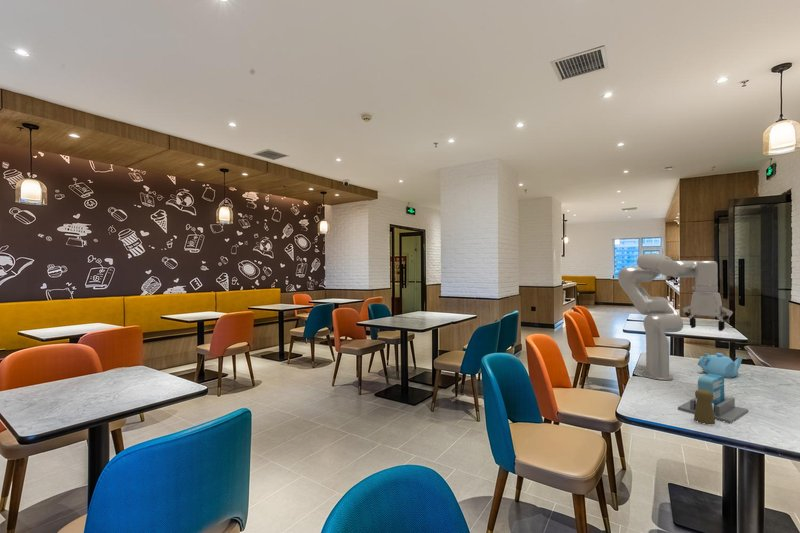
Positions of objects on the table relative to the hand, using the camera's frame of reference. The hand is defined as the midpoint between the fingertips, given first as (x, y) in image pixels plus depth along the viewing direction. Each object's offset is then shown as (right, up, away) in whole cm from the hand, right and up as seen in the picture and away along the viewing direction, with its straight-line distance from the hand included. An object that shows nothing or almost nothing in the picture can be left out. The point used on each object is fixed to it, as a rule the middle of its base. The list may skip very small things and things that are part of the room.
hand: (706, 329), depth 163 cm
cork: (-23, -29, -28) cm, 46 cm away
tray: (-13, -28, -18) cm, 36 cm away
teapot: (+32, -29, +30) cm, 52 cm away
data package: (-13, -28, -18) cm, 35 cm away
